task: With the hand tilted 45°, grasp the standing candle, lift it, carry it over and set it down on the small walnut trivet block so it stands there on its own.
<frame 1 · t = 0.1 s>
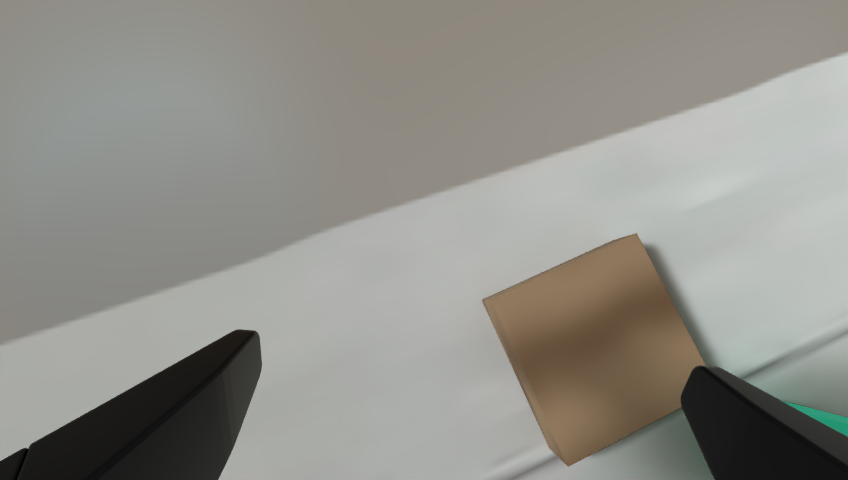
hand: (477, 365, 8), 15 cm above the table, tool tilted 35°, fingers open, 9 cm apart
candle: (763, 450, 23), on the table
walnut trivet: (582, 339, 23), on the table
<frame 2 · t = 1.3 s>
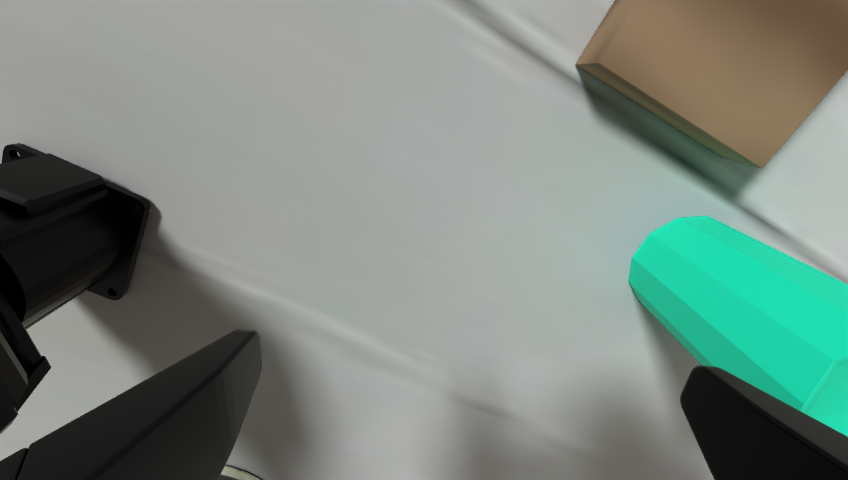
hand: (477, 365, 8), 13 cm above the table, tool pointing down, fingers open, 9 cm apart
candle: (680, 263, 22), on the table
walnut trivet: (720, 17, 17), on the table
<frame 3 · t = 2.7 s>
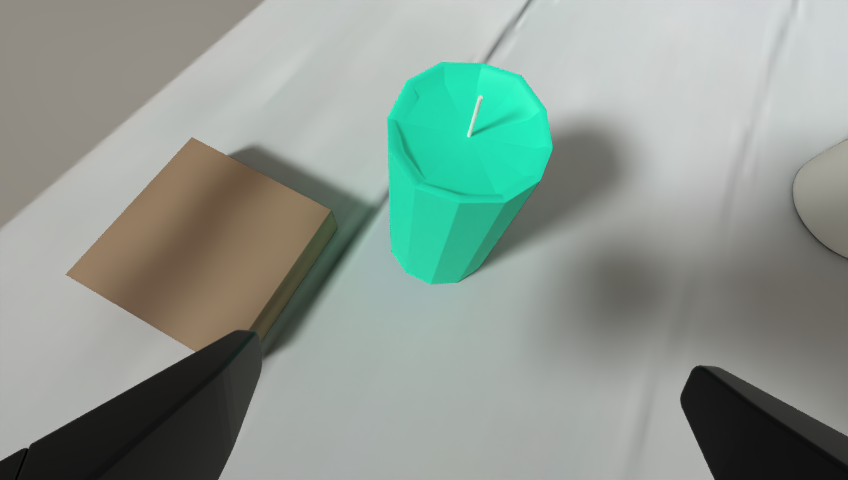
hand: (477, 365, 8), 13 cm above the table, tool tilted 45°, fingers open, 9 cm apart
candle: (438, 237, 24), on the table
walnut trivet: (225, 256, 22), on the table
pill bottle: (842, 212, 26), on the table
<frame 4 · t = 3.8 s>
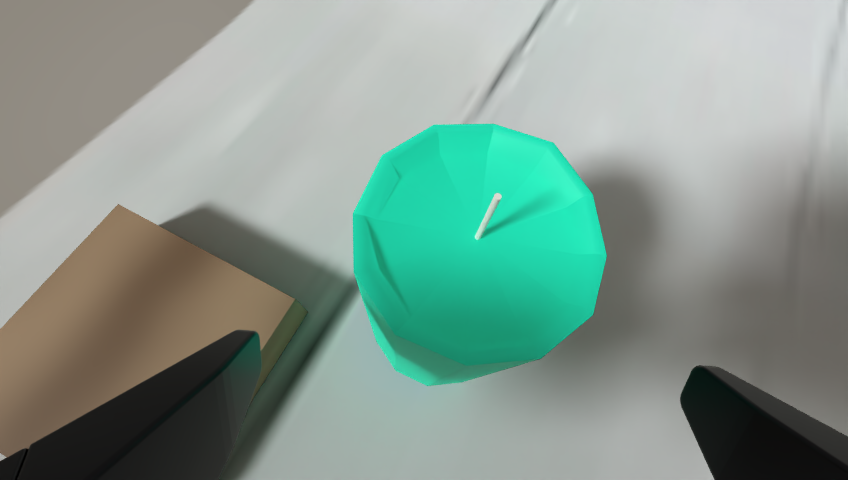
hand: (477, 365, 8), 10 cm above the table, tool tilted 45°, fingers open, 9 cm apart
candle: (436, 319, 19), on the table
walnut trivet: (162, 355, 17), on the table
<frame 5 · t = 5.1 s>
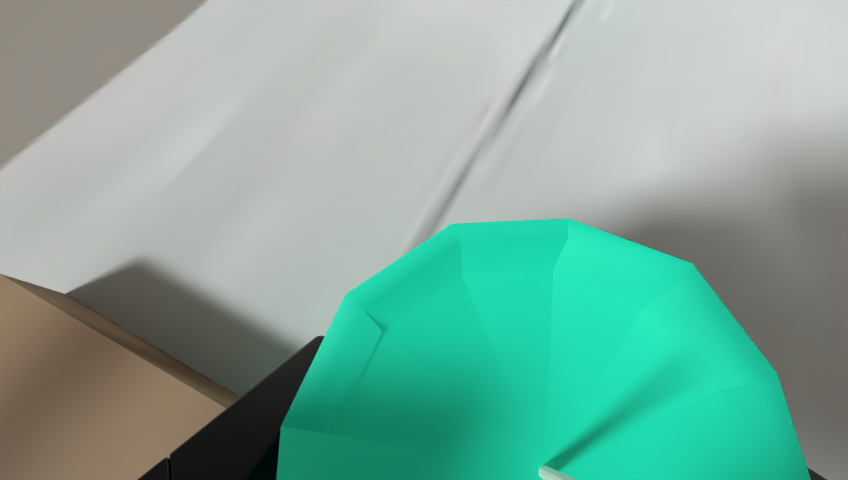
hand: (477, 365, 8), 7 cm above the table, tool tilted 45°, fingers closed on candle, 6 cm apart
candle: (443, 421, 14), on the table, touching gripper
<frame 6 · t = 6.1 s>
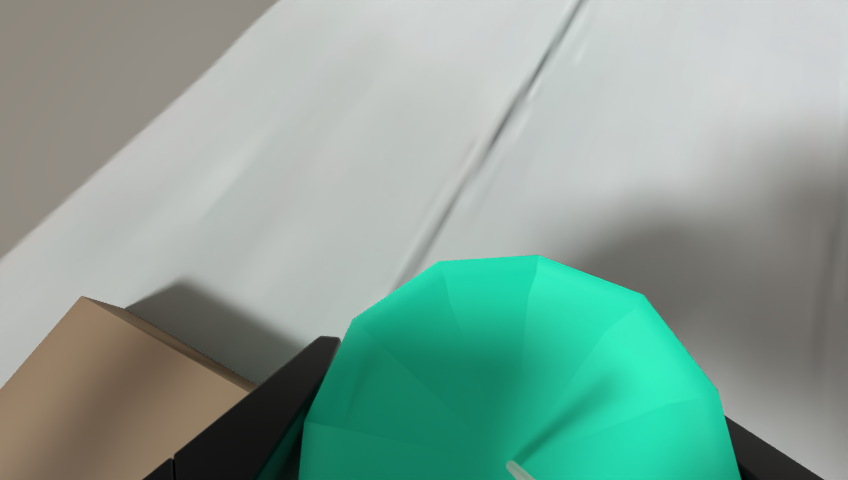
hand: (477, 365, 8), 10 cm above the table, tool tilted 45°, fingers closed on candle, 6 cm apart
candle: (464, 421, 15), point 2 cm above the table, touching gripper
walnut trivet: (132, 459, 16), on the table
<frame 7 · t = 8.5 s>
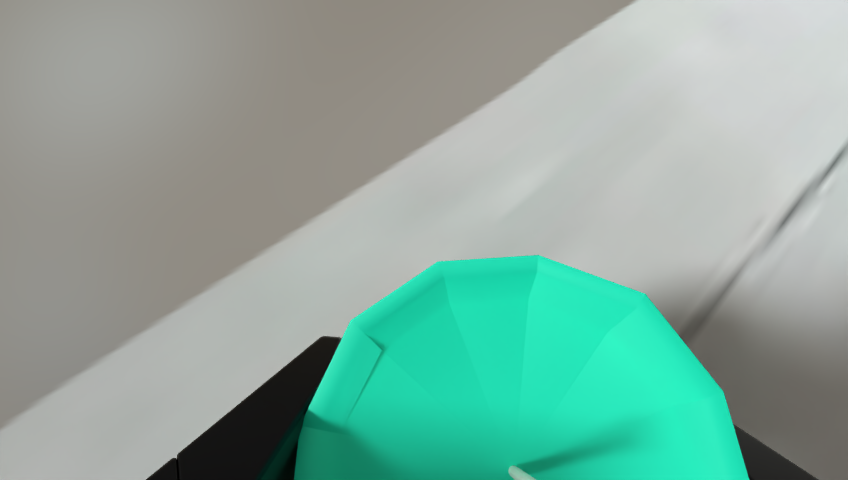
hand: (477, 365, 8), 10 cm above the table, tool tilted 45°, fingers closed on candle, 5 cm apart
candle: (463, 434, 15), point 3 cm above the table, touching gripper, walnut trivet
when the fingers open (10 cm above the table, at t = 8.9 s): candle stays where it is, resting on walnut trivet.
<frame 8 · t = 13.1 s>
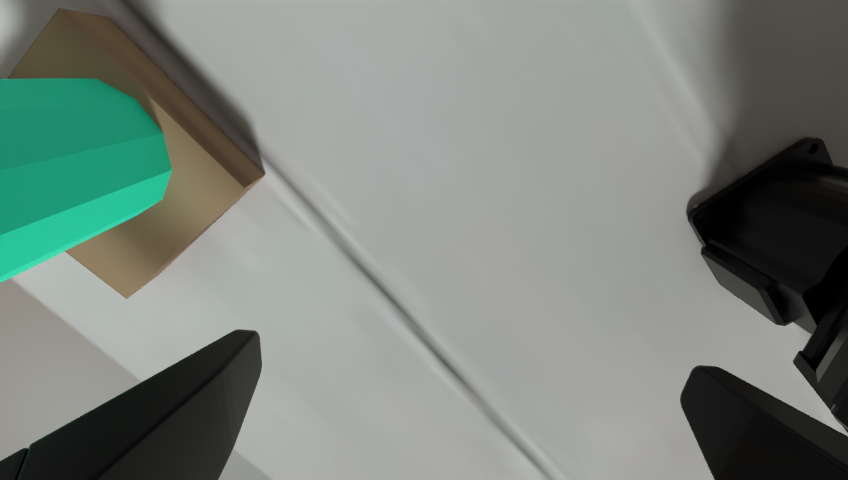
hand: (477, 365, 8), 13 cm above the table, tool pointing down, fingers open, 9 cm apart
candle: (103, 150, 17), point 2 cm above the table, touching walnut trivet
walnut trivet: (136, 162, 20), on the table
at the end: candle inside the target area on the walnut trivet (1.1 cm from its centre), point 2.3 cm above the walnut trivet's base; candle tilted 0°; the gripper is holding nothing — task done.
